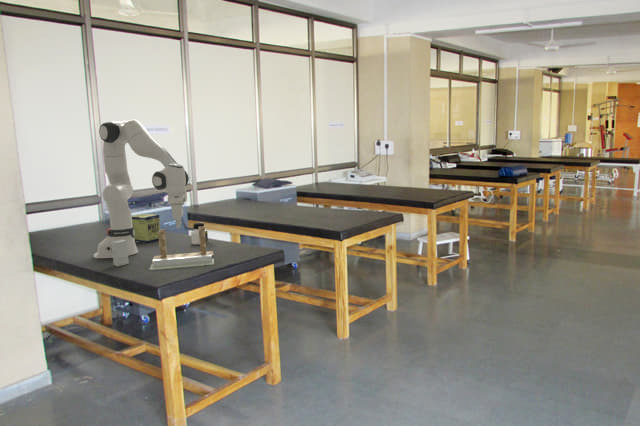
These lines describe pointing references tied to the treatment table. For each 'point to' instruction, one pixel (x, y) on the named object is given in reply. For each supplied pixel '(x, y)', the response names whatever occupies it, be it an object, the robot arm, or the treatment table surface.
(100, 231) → the treatment table surface
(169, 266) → the sage mat
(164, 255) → the hook rack
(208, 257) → the aluminium rail
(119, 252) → the skincare box
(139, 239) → the protein box
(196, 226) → the medicine bottle
